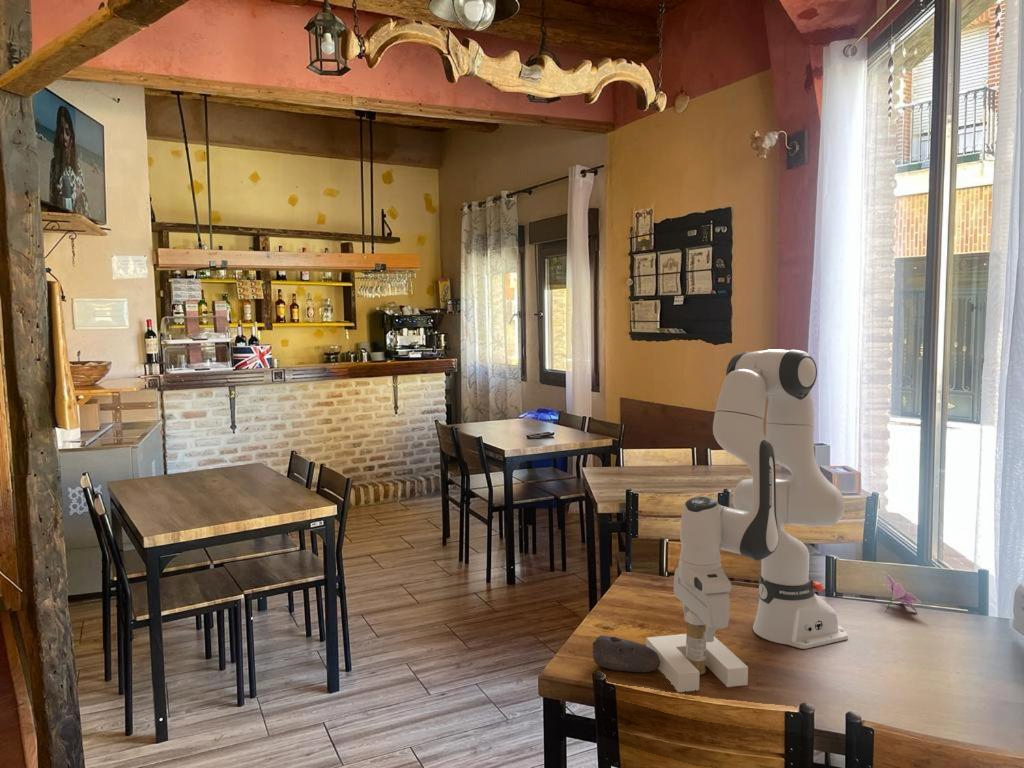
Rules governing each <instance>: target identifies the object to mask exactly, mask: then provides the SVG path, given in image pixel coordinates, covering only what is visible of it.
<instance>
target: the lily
mask: <svg viewBox="0 0 1024 768" xmlns="http://www.w3.org/2000/svg"><path fill="white" fill-rule="evenodd" d="M882 573H883V574H884V576H885V577H886V579H887V581H888V583H883V584H882V585H883V586H884V587H885V588H886V589H888V590H889V591H890V592H891V593H892V599H891V600H890V601H889V603H888V605H887V607H886V609H885V611H886V610H887V611H888V609H889V608H890V605H891V604H892V602H893V601H895V600H898V601H899V602H900V604H902V605H905V604H907V605H908V607H910V608H911V610H913V611H914V610H915V611H917V609H916V607H915V606H914V603H915V604H922V601H921V600H920V599H918V598H917V597H916V596H915V595H914V594H913V593H911V592H909V591H906V589H905V588H904V586H903V585H902V583H900V582H898V581H897V582H896V581H895V579H894V578H893V577H892V576H891V575H889V574H888V573H887V572H886V571H884V570H882ZM915 611H914V612H915Z"/></svg>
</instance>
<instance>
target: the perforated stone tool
mask: <svg viewBox="0 0 1024 768" xmlns="http://www.w3.org/2000/svg"><path fill="white" fill-rule="evenodd" d="M591 653H592V660H593V662H594V664H596V665H597V666H598V667H601V668H605V669H609V670H613V671H621V672H633V673H650V672H653V671H656V670H658V667H659V666H660V659H659V656H658V654H657V653H656V652H655V651H654V650H652V649H651V648H649V647H647V646H646V644H645V645H644V644H642V643H639V642H638V641H633V640H629V639H625V638H620V637H616V636H610V635H608V636H607V635H599V636H598V637H596V639H595V640H594V641H593V642H592V652H591Z"/></svg>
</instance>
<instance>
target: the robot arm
mask: <svg viewBox="0 0 1024 768" xmlns="http://www.w3.org/2000/svg"><path fill="white" fill-rule="evenodd" d="M725 374H726V375H725V378H724V380H723V383H722V385H721V388H720V392H719V393H718V394H719V395H718V399H717V401H716V407H715V410H714V411H715V412H714V417H713V422H712V435H713V436H714V440H715V441H716V442H717V444H718V445H719V446H720V447H721V448H722V449H723V450H724V451H725V452H727V453H729V454H730V455H732V456H733V457H735V458H737V459H739V460H741V461H742V462H743V463H745V465H746V466H747V467H748V468H749V470H750V472H751V476H752V478H747V479H741V480H740V481H739V482H738V483H737V484H736V486H735V488H734V490H733V494H732V504H733V505H732V506H733V507H729V506H724V505H721V504H719V501H718V500H716V499H715V498H713V497H709V496H702V495H701V496H694V497H692V498H689V499H688V500H686V501H685V502H684V504H683V507H682V513H681V517H680V527H679V540H680V543H681V550H680V554H679V561H678V564H677V565H678V566H677V567H676V568H675V571H674V577H673V594H674V596H675V597H676V598H677V599H678V600H679V601H680V602H681V606H682V611H683V613H684V615H683V616H684V617H683V618H684V621H685V623H687V621H686V613H687V612H688V611H690V610H691V611H692V612H693V613H695V614H696V615H697V616H698V617H699V618H700V619H701V620H702V621H703V622H704V623H705V627H706V631H705V632H703V639H704V640H705V641H706V642H713V641H714V636H715V633H716V631H717V630H723V629H726V628H727V627H728V625H729V622H730V605H731V602H730V595H729V592H731V591H732V582H731V581H730V580H729V578H728V576H727V574H726V572H725V571H724V569H723V567H722V566H721V565H722V557H721V554H720V550H721V551H726V552H729V553H734V554H739V555H741V556H744V557H746V558H749V559H752V560H755V561H760V562H761V564H760V565H761V573H760V574H759V581H758V595H759V596H758V597H759V599H758V605H757V606H758V607H757V612H756V615H755V616H756V617H755V618H754V623H753V625H752V630H753V632H754V633H755V634H756V635H757V636H759V637H760V638H762V639H764V640H766V641H769V642H772V643H777V644H783V645H786V646H787V645H788V646H792V647H795V648H797V649H804V650H807V649H810V648H814V647H819V646H823V645H824V646H825V645H828V644H832V643H836V642H841V641H845V640H848V639H849V636H848V632H847V631H846V629H845V628H843V626H841V625H840V624H839V622H838V616H837V613H836V611H835V609H834V608H833V607H832V606H831V605H829V604H828V603H827V602H826V601H825V600H823V599H822V598H821V597H820V596H818V595H817V594H816V593H815V591H817V592H819V593H821V592H822V591H823V590H824V585H823V584H822V583H819V581H813V579H811V578H809V575H810V573H809V572H810V571H809V570H810V552H809V549H808V547H807V546H806V545H805V544H804V543H803V542H802V541H801V540H800V539H797V537H794V536H792V535H791V534H789V533H788V532H787V531H786V530H784V526H785V525H790V526H791V525H792V526H801V527H802V526H803V527H814V528H815V527H817V528H818V527H819V528H820V527H828V526H834V525H836V524H837V523H839V521H840V520H841V519H842V517H843V515H844V512H845V506H846V505H845V504H846V503H845V500H844V496H843V494H842V493H841V490H839V488H838V487H836V486H835V485H834V484H833V483H832V482H831V481H830V480H828V479H827V478H826V476H825V475H824V473H823V472H822V471H821V469H820V467H819V465H818V463H817V459H816V456H815V455H816V454H815V445H814V443H815V441H814V437H815V436H814V433H815V432H814V431H815V430H814V423H815V420H814V419H815V416H814V403H813V402H814V401H813V396H812V389H813V387H814V385H815V383H816V381H817V376H818V368H817V363H816V362H815V360H814V359H813V357H812V356H811V354H810V353H808V352H806V351H804V350H799V349H790V350H789V349H787V350H786V349H774V348H773V349H766V350H755V351H744V352H741V353H737V354H735V355H734V356H733V357H732V358H731V359H730V361H729V362H728V364H727V366H726V371H725ZM767 398H768V403H767ZM766 407H767V408H766ZM765 416H766V418H765ZM765 419H766V420H765ZM764 422H765V423H764ZM764 424H765V429H764ZM776 463H777V464H778V465H779V466H781V467H784V468H785V469H787V470H788V471H789V472H790V474H791V478H788V479H783V478H776V477H777V476H776Z"/></svg>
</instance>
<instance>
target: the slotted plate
mask: <svg viewBox="0 0 1024 768" xmlns="http://www.w3.org/2000/svg"><path fill="white" fill-rule="evenodd" d="M686 636H687V633H680V634H669V635H658V636H657V635H656V636H648V637H646V638H645V639H646V640H645V646H647V647H649V648H651V649H652V650H654V651H655V652H656V653H657V654H658V656H659V659H660V666H659V667H658V668H657V670H658V671H659V672H661V674H662V673H663V674H664V675H665V676H666V677H665V676H664V675H663V674H662V675H663V676H664V677H665V678H666V680H667V679H668V680H669V681H670V682H671V683H670V682H669V681H668V680H667V681H668V682H669V683H670V685H671V686H672V685H673V686H674V687H675V688H674V687H673V686H672V687H673V688H674V689H675V691H677V693H684V692H685V691H686V692H696V691H700V672H699V671H698V670H697V669H696V668H695V667H694V666H693V665H692V664H691V663H690V661H689V660H688V659H687V658H686ZM705 667H707V668H708V669H709V670H710V671H711V672H712V673H713V674H714V675H715V677H716V678H718V679H719V680H720V681H721V682H722V683H723V684H724V685H725V686H726V687H727V688H732V687H733V688H734V687H740V686H749V685H748V684H749V682H748V681H749V679H748V678H749V666H748V665H746V664H745V663H744V662H743V661H742V660H741V659H740V658H739V657H738V656H737V655H736V654H734V653H733V651H731V650H730V649H729V648H728V647H727V646H726V645H724V643H722V642H721V641H720V640H719V639H718V638H717V637H716V636H715V635H714V641H713V642H706V659H705ZM695 690H696V691H695Z"/></svg>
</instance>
